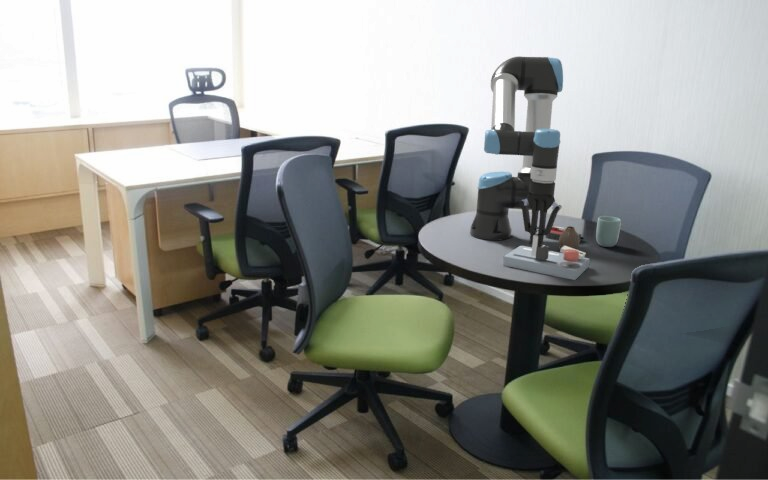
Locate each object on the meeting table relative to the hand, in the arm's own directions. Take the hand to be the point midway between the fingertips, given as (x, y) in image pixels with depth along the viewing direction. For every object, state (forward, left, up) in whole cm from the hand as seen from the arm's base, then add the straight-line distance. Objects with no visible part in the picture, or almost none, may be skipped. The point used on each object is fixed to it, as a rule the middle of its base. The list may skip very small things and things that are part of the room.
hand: (535, 254), depth 200 cm
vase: (+4, +25, -5) cm, 25 cm away
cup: (+13, +41, -5) cm, 43 cm away
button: (+11, +1, 0) cm, 11 cm away
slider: (+2, 0, -1) cm, 2 cm away
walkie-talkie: (-6, +41, -5) cm, 42 cm away
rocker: (+10, +8, +1) cm, 12 cm away
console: (+3, +4, -4) cm, 7 cm away
